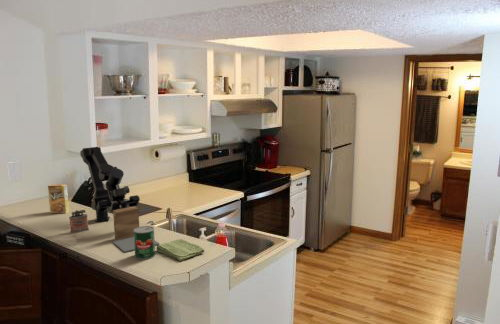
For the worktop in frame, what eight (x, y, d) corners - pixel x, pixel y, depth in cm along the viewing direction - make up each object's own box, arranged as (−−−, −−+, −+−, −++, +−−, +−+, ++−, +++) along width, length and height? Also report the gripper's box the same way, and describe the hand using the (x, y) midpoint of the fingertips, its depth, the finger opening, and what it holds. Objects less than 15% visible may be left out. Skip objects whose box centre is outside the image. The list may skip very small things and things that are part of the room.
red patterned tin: (71, 233, 198) (69, 212, 197) (69, 231, 201) (67, 211, 200) (89, 230, 203) (87, 209, 201) (87, 228, 206) (86, 208, 204)
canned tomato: (139, 261, 165) (137, 233, 164) (132, 255, 172) (130, 228, 170) (158, 256, 170) (157, 229, 168) (150, 250, 176) (149, 224, 174)
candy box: (50, 213, 232) (47, 185, 230) (54, 211, 236) (51, 183, 234) (65, 213, 232) (63, 185, 229) (69, 211, 236) (67, 183, 233)
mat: (112, 242, 186) (112, 241, 186) (145, 235, 195) (145, 234, 195) (124, 252, 174) (124, 251, 174) (159, 244, 183) (159, 243, 183)
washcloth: (180, 263, 164) (180, 255, 163) (154, 252, 176) (154, 244, 175) (207, 254, 173) (206, 246, 173) (180, 243, 185) (180, 236, 185)
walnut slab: (114, 238, 191) (112, 210, 189) (136, 233, 197) (134, 206, 195) (117, 241, 188) (116, 212, 186) (139, 236, 194) (138, 208, 192)
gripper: (96, 183, 190) (106, 213, 183) (137, 178, 201) (147, 206, 194) (92, 197, 198) (101, 226, 191) (132, 191, 209) (142, 218, 201)
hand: (123, 219), depth 194 cm, fingers closed
